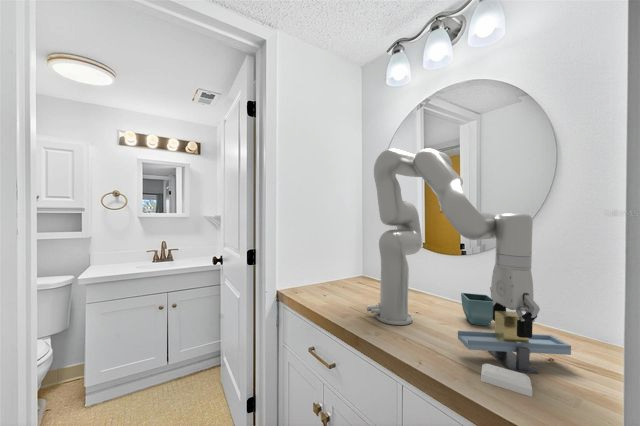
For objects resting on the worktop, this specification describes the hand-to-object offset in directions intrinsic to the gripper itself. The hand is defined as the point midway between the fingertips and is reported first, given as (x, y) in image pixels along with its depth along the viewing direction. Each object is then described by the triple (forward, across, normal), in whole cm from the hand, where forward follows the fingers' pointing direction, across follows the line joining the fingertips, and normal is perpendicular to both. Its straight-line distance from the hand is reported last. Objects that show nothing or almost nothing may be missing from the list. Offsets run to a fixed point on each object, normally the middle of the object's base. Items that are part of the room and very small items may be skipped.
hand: (510, 328), depth 69 cm
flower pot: (+9, -26, +5) cm, 28 cm away
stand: (+8, 0, 0) cm, 8 cm away
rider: (+3, 0, 0) cm, 3 cm away
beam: (+4, 0, 0) cm, 4 cm away
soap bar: (+9, +10, -7) cm, 15 cm away
